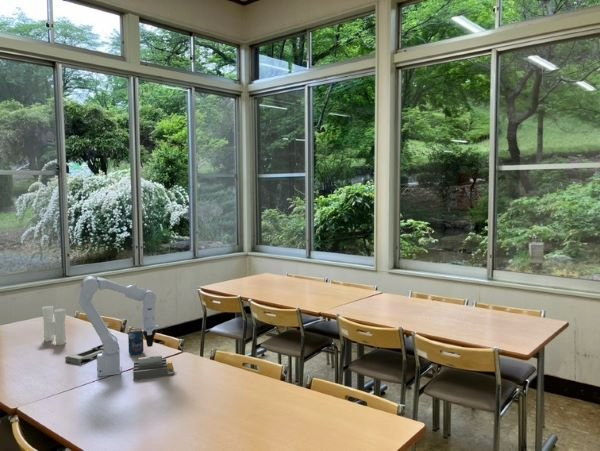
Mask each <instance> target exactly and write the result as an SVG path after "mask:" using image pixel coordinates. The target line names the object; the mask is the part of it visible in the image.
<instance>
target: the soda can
mask: <svg viewBox="0 0 600 451" xmlns="http://www.w3.org/2000/svg"><path fill="white" fill-rule="evenodd" d="M127 335H128V336H127V337H128V341H127V342H128V354H129V355H130V356H132V357H133V356H134V357H135V356H136V357H139V356H141V355H142V354H143V353H144V348H145V347H144V335H143V329H142V328H131V329H129V332H128V334H127Z"/></svg>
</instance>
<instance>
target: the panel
mask: <svg viewBox="0 0 600 451" xmlns="http://www.w3.org/2000/svg"><path fill="white" fill-rule="evenodd" d="M162 359H163V355H153V356H144V357H138V359H137V360H138V361H137V362H138V367H148V366H157V365H162Z"/></svg>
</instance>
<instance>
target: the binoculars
mask: <svg viewBox="0 0 600 451" xmlns="http://www.w3.org/2000/svg"><path fill="white" fill-rule="evenodd" d="M41 310H42V312H41V313H42V319H43V340H44V342H49V341H51V342H52V341H53V340H54V338H55V345H58V346H61V345H65V344H66V343H67V342H66V341H67V338H66V309H65V308H56V309H54V306H53V305H47V306H46V305H45V306H42V308H41Z"/></svg>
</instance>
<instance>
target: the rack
mask: <svg viewBox="0 0 600 451" xmlns="http://www.w3.org/2000/svg"><path fill="white" fill-rule="evenodd" d="M132 375H133V381H137V380H145V379H147V380H148V379H154V378H155V379H156V378H162V377H163V378H164V377H169V376H174V375H175V374H174V367H173V360H167V358H162V365H157V366H148V367H138V361H134V362H133V371H132Z"/></svg>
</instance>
